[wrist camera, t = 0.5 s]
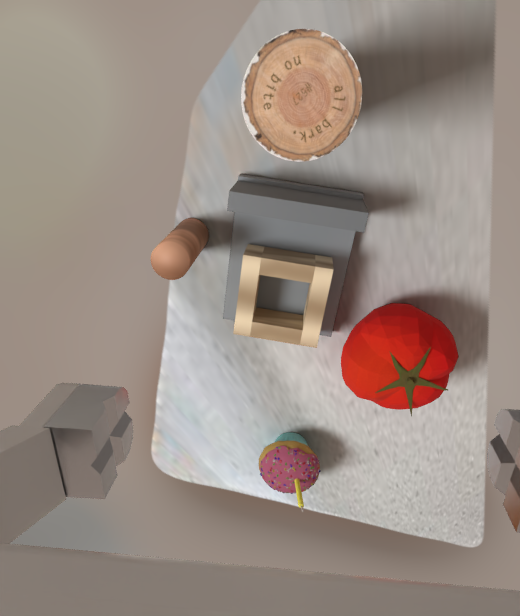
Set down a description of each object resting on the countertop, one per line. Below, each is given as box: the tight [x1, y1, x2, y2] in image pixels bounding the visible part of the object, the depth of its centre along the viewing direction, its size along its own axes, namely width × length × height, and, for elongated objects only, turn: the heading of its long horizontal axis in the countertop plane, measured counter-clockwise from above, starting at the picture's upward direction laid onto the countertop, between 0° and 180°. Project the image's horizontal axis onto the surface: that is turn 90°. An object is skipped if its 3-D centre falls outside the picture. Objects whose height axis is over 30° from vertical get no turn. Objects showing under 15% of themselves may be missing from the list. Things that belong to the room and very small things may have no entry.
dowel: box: [151, 218, 209, 280], centre depth 51 cm, size 4×4×10 cm
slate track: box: [223, 174, 369, 337], centre depth 53 cm, size 18×14×8 cm
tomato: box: [341, 303, 459, 417], centre depth 54 cm, size 12×13×12 cm
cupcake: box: [259, 432, 320, 511], centre depth 63 cm, size 9×8×12 cm
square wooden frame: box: [233, 244, 334, 348], centre depth 54 cm, size 10×10×4 cm
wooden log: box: [241, 29, 362, 162], centre depth 37 cm, size 7×7×25 cm
